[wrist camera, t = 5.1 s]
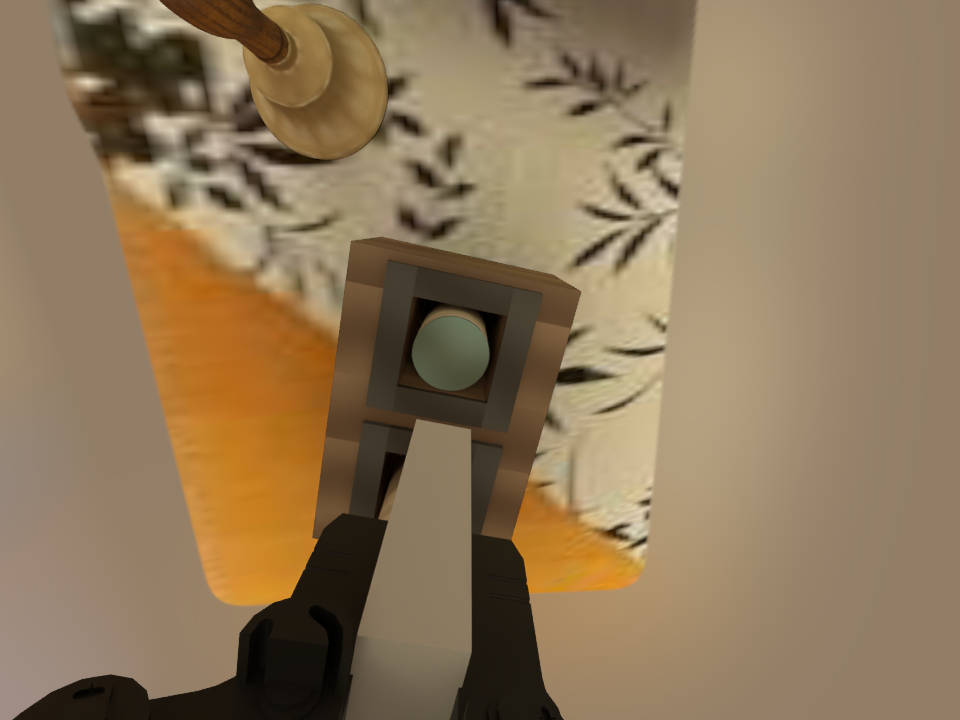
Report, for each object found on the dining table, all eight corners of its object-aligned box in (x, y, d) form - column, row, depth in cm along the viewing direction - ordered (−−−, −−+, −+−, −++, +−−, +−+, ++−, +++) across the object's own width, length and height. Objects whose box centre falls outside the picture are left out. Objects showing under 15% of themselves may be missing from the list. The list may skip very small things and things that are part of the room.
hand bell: (368, 179, 29) (255, 128, 14) (240, 132, 28) (-38, 22, 13) (404, 38, 27) (316, -213, 11) (265, -18, 26) (-35, -373, 10)
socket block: (381, 237, 30) (348, 241, 22) (553, 275, 31) (583, 292, 23) (346, 469, 35) (309, 542, 27) (495, 495, 36) (503, 574, 28)
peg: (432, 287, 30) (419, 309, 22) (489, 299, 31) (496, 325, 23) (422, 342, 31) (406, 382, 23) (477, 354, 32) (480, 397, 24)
